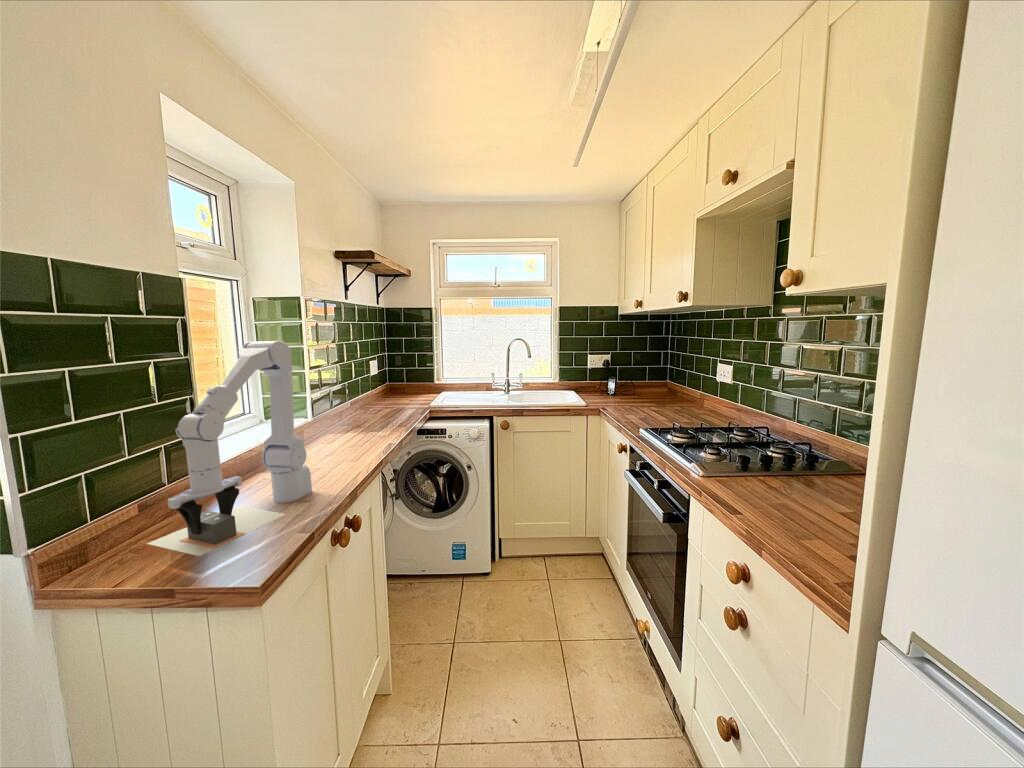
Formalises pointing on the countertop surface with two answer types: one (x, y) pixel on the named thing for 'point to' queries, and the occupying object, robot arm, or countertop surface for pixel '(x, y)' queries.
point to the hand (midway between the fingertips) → (211, 527)
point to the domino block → (215, 528)
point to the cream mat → (244, 523)
